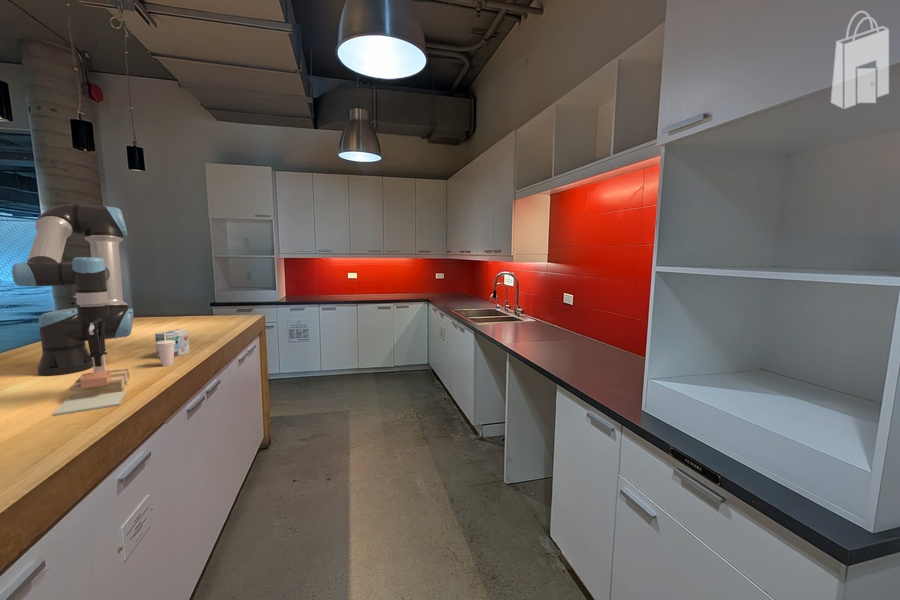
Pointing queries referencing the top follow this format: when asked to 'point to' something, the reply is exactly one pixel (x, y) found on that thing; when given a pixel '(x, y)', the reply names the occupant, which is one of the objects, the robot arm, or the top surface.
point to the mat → (90, 403)
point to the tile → (96, 379)
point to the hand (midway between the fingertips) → (100, 375)
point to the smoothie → (166, 351)
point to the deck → (114, 385)
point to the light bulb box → (176, 341)
